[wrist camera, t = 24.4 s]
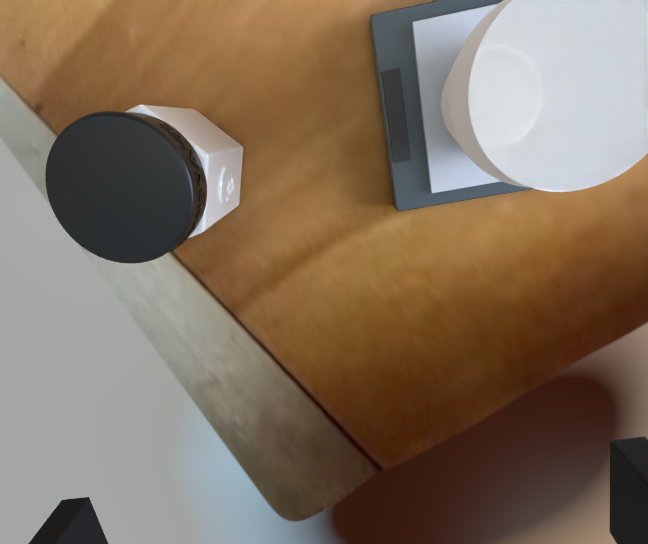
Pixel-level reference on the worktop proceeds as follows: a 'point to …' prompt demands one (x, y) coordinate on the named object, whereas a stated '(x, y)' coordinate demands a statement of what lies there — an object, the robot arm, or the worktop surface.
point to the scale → (426, 102)
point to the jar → (142, 180)
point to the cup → (553, 92)
